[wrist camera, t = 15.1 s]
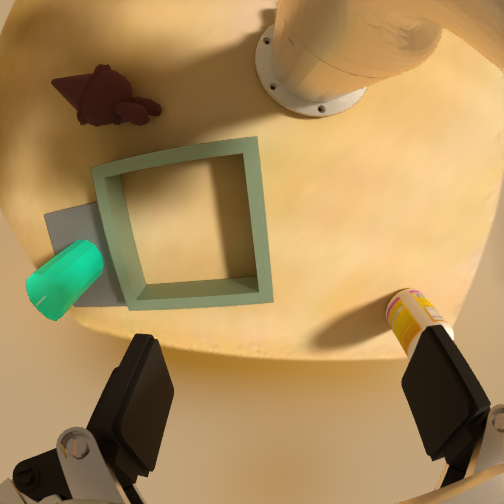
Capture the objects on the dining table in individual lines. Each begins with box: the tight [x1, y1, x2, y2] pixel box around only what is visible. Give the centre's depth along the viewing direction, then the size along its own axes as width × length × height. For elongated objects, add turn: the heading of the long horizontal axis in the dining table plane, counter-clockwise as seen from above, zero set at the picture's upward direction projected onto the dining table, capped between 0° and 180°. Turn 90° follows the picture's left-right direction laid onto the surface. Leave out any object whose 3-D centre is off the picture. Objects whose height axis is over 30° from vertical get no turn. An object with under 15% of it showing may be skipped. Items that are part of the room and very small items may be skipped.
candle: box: [26, 240, 104, 321], centre depth 30 cm, size 6×6×12 cm
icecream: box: [51, 64, 162, 126], centre depth 25 cm, size 7×7×15 cm
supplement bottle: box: [385, 288, 454, 360], centre depth 32 cm, size 7×7×13 cm
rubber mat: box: [44, 202, 127, 307], centre depth 35 cm, size 15×11×1 cm
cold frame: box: [91, 136, 274, 311], centre depth 32 cm, size 18×18×4 cm
